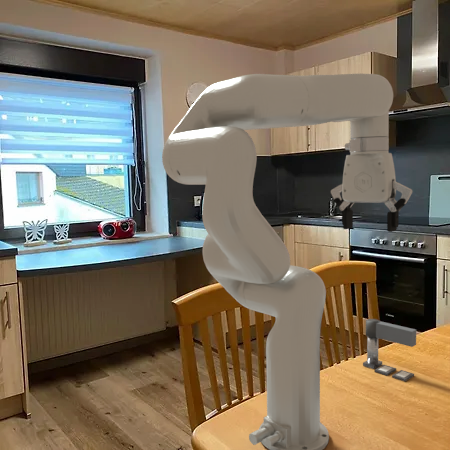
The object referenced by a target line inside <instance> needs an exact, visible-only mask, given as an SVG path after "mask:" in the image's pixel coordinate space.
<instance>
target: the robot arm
mask: <svg viewBox="0 0 450 450" xmlns="http://www.w3.org/2000/svg"><path fill="white" fill-rule="evenodd" d="M393 100H394V90H393V87H392V85H391V83H390V82H389V80H388V79H387V78H385V77H384V76H382V75H381V74H376V73H344V74H309V75H293V74H292V75H289V74H287V75H286V74H270V73H267V74H266V73H253V74H245V75H240V76H237V77H233V78H229V79H225V80H221V81H218V82H215V83H213V84H211V85H209V86H208V87H207V88H205V90H204V91H203V92H202V93H201V94H200V95H199V96H198V97H197V98H196V100H195V101H194V103H193V104H191V106H190V107H189V109H188V111H186V113H185V114H184V115H183V117H182V118H181V120H180V121H179V122H178V124H177V125H176V126H175V128H174V129H173V130H172V131H171V133H170V135H169V136H168V138H167V139H166V141H165V143H164V145H163V149H162V159H161V160H162V161H161V162H162V166H163V170H164V171H165V173H166V174H167V176H169V178H171V179H172V180H173V181H174V182H177V183H179V184H182V185H188V186H189V185H190V186H191V185H197V186H198V185H199V186H200V185H205V188H204V193H203V204H202V215H201V216H202V222H203V226H204V227H203V228H205V230H206V232H207V234H206V237H205V238H204V241H203V244H202V258H203V262H204V265H205V267H206V269H207V271H208V272H209V274H210V275H211V276H212V277H213V279H215V280H216V281H217V282H218V283H219V285H220V286H221V287H223V288H224V290H225V291H226V292H227V293H228V294H229V295H230V296H231V297H232V298H233V299H235V300H236V302H237V303H239V304H240V305H241V306H243V307H244V308H247V310H250V311H255V312H257V313H262V314H265V315H268V316H271V317H275V322H274V324H273V326H272V327H271V329H270V331H269V333H268V335H267V339H266V343H265V357H266V358H265V359H266V361H265V362H266V363H265V364H266V416H264V417H263V422H262V423H261V424H260V426H259V428H258V429H256V430H254V431H252V432H251V433H250V434H249V435H248V440H249V442H250V444H252V445H255V446H256V445H257V444H259V443H261V444H262V445H263V446H264V447H266V448H267V449H268V450H324V449H325V448H326V447H327V445H328V443H329V440H330V438H329V437H330V436H329V434H330V433H329V431H328V428H327V427H326V426H325V425H324V424H323V423H322V422H321V369H320V368H321V355H320V354H321V353H320V352H321V351H320V350H321V349H320V348H321V346H320V341H321V327H322V318H323V313H324V309H325V304H326V297H327V296H326V295H327V290H326V286H325V283H324V281H323V279H322V278H321V276H320V275H319V274H318V273H316V272H315V271H313V270H312V269H309V268H306V267H302V266H297V265H292V264H291V256H290V252H289V250H288V248H287V246H286V244H285V243H284V241H283V240H282V238H281V237H280V235H279V234H278V233H277V232H276V231H275V229H274V228H273V227H272V226H271V224H270V222H268V221H267V219H266V218H265V217H264V215H262V213H261V211H260V210H259V208H258V206H256V203H255V201H254V196H253V192H254V191H253V190H254V188H253V186H254V180H255V179H254V178H255V173H256V167H257V157H258V156H257V149H256V145H255V142H254V141H253V138H252V136H250V134H249V133H248V132H247V131H251V130H265V129H278V128H279V129H281V128H295V127H298V128H299V127H307V126H315V125H321V124H322V125H323V124H327V123H330V122H332V123H342V122H349V123H350V126H349V127H350V132H349V133H350V135H349V136H350V139H349V142H348V143H345V144H344V149H345V150H346V151H347V150H348V151H349V153H350V154H346V156H345V160H344V166H343V174H342V183H341V184H339V185H336V187H334V188H332V189H331V190H330V194H331V196H332V198H333V200H334V201H333V202H334V203H335V204H336V206H338V207H339V210H340V211H341V223H342V226H343V227H342V228H343V230H349V229H353V228H354V227H353V226H354V212H353V209H351V208H352V206H353V205H354V204H355V203H368V204H369V203H370V204H371V203H372V204H373V203H374V204H377V203H378V204H379V203H383V204H384V205H385V206H386V207H387V208H388V209H389V211H388V212H387V215H386V216H387V217H386V218H387V220H386V221H387V223H386V225H387V226H386V228H387V229H386V231H387V232H388V233H392V232H396V231H397V229H398V227H399V222H400V221H399V220H400V218H399V213H400V211H401V209H402V208H403V207H404V206H405V205H406V204H407V203H408V201H409V199H410V198H411V195H412V194H413V189H412V188H409V187H408V186H406V185H403V184H401V183H400V182H397V181H396V170H395V163H394V157H393V154H392V152H389V148H390V147H389V144H390V143H389V140H390V139H389V133H390V132H389V129H390V124H389V123H390V121H389V118H390V117H389V113H390V112H389V111H390V109H391V107H392V104H393ZM397 192H399V193H401V196H400V198H399V199H398V200H396V195H397ZM341 196H342V197H341Z"/></svg>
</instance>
